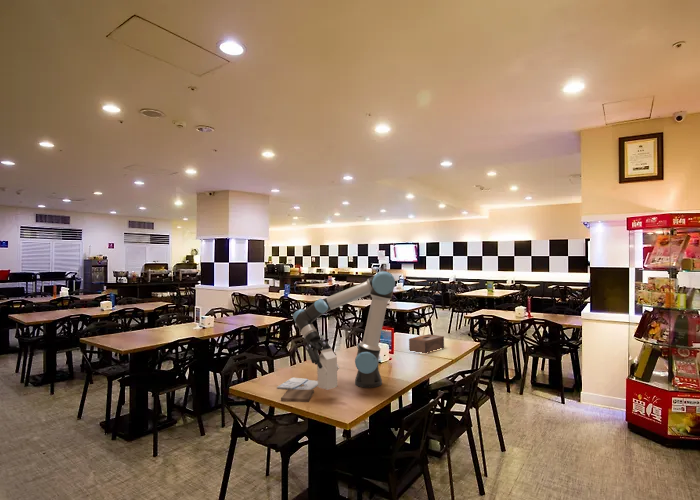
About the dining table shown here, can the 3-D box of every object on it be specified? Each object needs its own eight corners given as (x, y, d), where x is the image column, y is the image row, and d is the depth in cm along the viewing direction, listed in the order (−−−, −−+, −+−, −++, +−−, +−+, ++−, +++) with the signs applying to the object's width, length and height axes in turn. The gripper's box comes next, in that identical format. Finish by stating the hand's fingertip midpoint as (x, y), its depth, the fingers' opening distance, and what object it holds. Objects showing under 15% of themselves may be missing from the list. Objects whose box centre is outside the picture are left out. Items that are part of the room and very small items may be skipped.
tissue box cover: (424, 354, 292) (424, 341, 293) (409, 351, 303) (409, 338, 303) (444, 349, 310) (443, 336, 311) (428, 346, 321) (428, 334, 321)
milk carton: (337, 386, 199) (336, 349, 200) (327, 390, 194) (326, 351, 195) (327, 384, 204) (327, 347, 205) (317, 387, 199) (316, 349, 200)
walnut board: (314, 392, 209) (313, 389, 209) (308, 401, 195) (308, 398, 195) (288, 392, 210) (288, 389, 210) (280, 401, 196) (280, 398, 196)
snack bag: (293, 379, 234) (293, 376, 234) (324, 383, 227) (324, 379, 227) (275, 389, 217) (275, 385, 217) (308, 393, 209) (308, 389, 209)
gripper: (322, 336, 218) (343, 371, 206) (292, 342, 204) (312, 380, 192) (328, 328, 214) (349, 362, 202) (298, 333, 200) (319, 371, 188)
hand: (331, 371), depth 197 cm, fingers closed on milk carton, 7 cm apart
